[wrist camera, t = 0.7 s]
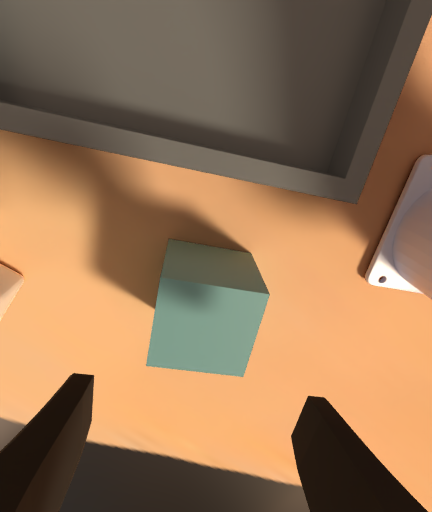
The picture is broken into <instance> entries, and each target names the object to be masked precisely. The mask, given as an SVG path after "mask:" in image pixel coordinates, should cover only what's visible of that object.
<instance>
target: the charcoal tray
mask: <svg viewBox="0 0 432 512" xmlns="http://www.w3.org/2000/svg"><path fill="white" fill-rule="evenodd" d="M431 15H432V0H0V129H1V130H6V131H11V132H15V133H20V134H25V135H30V136H35V137H39V138H44V139H49V140H54V141H58V142H63V143H68V144H73V145H77V146H82V147H87V148H92V149H96V150H101V151H106V152H111V153H115V154H120V155H125V156H130V157H134V158H139V159H144V160H149V161H153V162H158V163H163V164H168V165H173V166H177V167H182V168H187V169H192V170H196V171H201V172H206V173H211V174H215V175H220V176H225V177H230V178H234V179H239V180H244V181H249V182H253V183H258V184H263V185H268V186H272V187H277V188H282V189H287V190H291V191H296V192H301V193H306V194H311V195H315V196H320V197H325V198H330V199H334V200H339V201H344V202H349V203H353V204H357V202H358V200H359V197H360V195H361V192H362V190H363V187H364V185H365V182H366V179H367V177H368V174H369V172H370V169H371V167H372V164H373V162H374V159H375V157H376V154H377V152H378V149H379V147H380V144H381V142H382V139H383V137H384V134H385V131H386V129H387V126H388V124H389V121H390V119H391V116H392V114H393V111H394V109H395V106H396V104H397V101H398V99H399V96H400V94H401V91H402V88H403V86H404V83H405V81H406V78H407V76H408V73H409V71H410V68H411V66H412V63H413V61H414V58H415V56H416V53H417V51H418V48H419V46H420V43H421V40H422V38H423V35H424V33H425V30H426V28H427V25H428V23H429V20H430V18H431Z"/></svg>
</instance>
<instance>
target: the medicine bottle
mask: <svg viewBox="0 0 432 512" xmlns="http://www.w3.org/2000/svg"><path fill="white" fill-rule="evenodd" d="M23 282H24V277H23V276H22V275H21V274H19V273H17V272H15V271H13V270H12V269H10V268H8V267H6V266H4V265H2V264H0V320H1V319H2V317H3V315H4V314H5V312H6V311H7V309H8V307H9V306H10V304H11V302H12V301H13V299H14V297H15V296H16V294H17V292H18V291H19V289H20V287H21V286H22V284H23Z"/></svg>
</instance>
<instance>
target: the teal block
mask: <svg viewBox="0 0 432 512" xmlns="http://www.w3.org/2000/svg"><path fill="white" fill-rule="evenodd" d="M269 295H270V294H269V292H268V289H267V287H266V285H265V283H264V281H263V278H262V276H261V274H260V272H259V270H258V267H257V265H256V263H255V261H254V258H253V256H252V254H251V253H248V252H242V251H236V250H231V249H225V248H219V247H213V246H208V245H202V244H196V243H191V242H185V241H179V240H173V239H169V240H168V245H167V249H166V254H165V258H164V263H163V267H162V272H161V276H160V282H159V288H158V295H157V301H156V307H155V314H154V320H153V326H152V332H151V339H150V345H149V351H148V357H147V364H146V366H152V367H161V368H169V369H178V370H187V371H196V372H205V373H213V374H222V375H231V376H240V377H243V376H244V373H245V370H246V367H247V364H248V361H249V357H250V354H251V351H252V348H253V345H254V342H255V339H256V336H257V333H258V329H259V326H260V323H261V320H262V317H263V314H264V311H265V308H266V305H267V301H268V298H269Z"/></svg>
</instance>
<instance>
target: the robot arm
mask: <svg viewBox="0 0 432 512" xmlns="http://www.w3.org/2000/svg"><path fill="white" fill-rule="evenodd" d="M431 167H432V155H422V156H420V157H419V158H418V159H417V161H416V162H415V165H414V167H413V169H412V171H411V173H410V176H409V178H408V180H407V182H406V185H405V187H404V189H403V191H402V194H401V196H400V198H399V200H398V203H397V205H396V207H395V209H394V212H393V214H392V216H391V218H390V220H389V223H388V225H387V227H386V229H385V232H384V234H383V236H382V238H381V241H380V243H379V245H378V247H377V250H376V252H375V254H374V256H373V259H372V261H371V263H370V265H369V267H368V270H367V272H366V274H365V280H366V281H367V282H368V283H369V284H370V285H375V286H381V287H386V288H392V289H398V290H404V291H410V292H416V293H422V294H425V295H426V296H428V297H429V298H430V299H432V169H431ZM381 276H383V278H382V279H381V280H379V278H380V277H381ZM93 385H94V375H86V374H76V373H74V374H72V375H71V376H70V377H69V378H68V379H67V380H66V381H65V383H64V384H63V385H62V386H61V387H60V389H59V390H58V391H57V392H56V393H55V394H54V396H53V397H52V398H51V399H50V400H49V401H48V402H47V403H46V405H45V406H44V407H43V408H42V409H41V410H40V411H39V412H38V413H37V414H36V415H35V417H34V418H33V419H32V420H31V421H30V422H29V423H28V424H27V425H26V426H25V427H24V428H23V429H22V430H21V431H20V432H19V433H18V434H17V435H16V437H14V438H13V439H12V440H11V441H10V443H8V444H7V445H6V446H5V447H4V448H3V449H2V450H1V451H0V512H59V510H60V507H61V505H62V502H63V500H64V498H65V495H66V493H67V490H68V488H69V485H70V483H71V480H72V478H73V475H74V473H75V470H76V468H77V465H78V463H79V460H80V457H81V454H82V451H83V448H84V445H85V441H86V438H87V435H88V431H89V428H90V424H91V421H92V403H93ZM291 438H292V444H293V449H294V455H295V460H296V465H297V469H298V473H299V476H300V480H301V483H302V487H303V490H304V493H305V496H306V500H307V503H308V506H309V509H310V512H428V511H427V510H426V509H425V508H424V507H423V506H422V505H421V504H420V503H419V502H418V501H417V500H416V499H415V498H414V497H413V496H412V495H411V494H410V493H409V492H408V491H407V490H406V489H405V488H404V487H403V486H402V485H401V483H400V482H399V481H398V480H397V479H396V478H395V477H394V476H393V475H392V474H391V473H390V472H389V471H388V470H387V468H386V467H385V466H384V465H383V464H382V463H381V462H380V461H379V460H378V459H377V457H376V456H375V455H374V454H373V453H372V452H371V451H370V449H369V448H368V447H367V446H366V445H365V444H364V443H363V441H362V440H361V439H360V438H359V437H358V436H357V434H356V433H355V432H354V431H353V430H352V429H351V427H350V426H349V425H348V424H347V423H346V422H345V420H344V419H343V418H342V417H341V416H340V415H339V413H338V412H337V411H336V410H335V409H334V408H333V406H332V405H331V404H330V403H329V402H328V401H327V400H326V399H325V398H324V397H314V396H308V398H307V400H306V402H305V405H304V407H303V409H302V412H301V414H300V417H299V419H298V421H297V424H296V426H295V428H294V431H293V433H292V435H291Z"/></svg>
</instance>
